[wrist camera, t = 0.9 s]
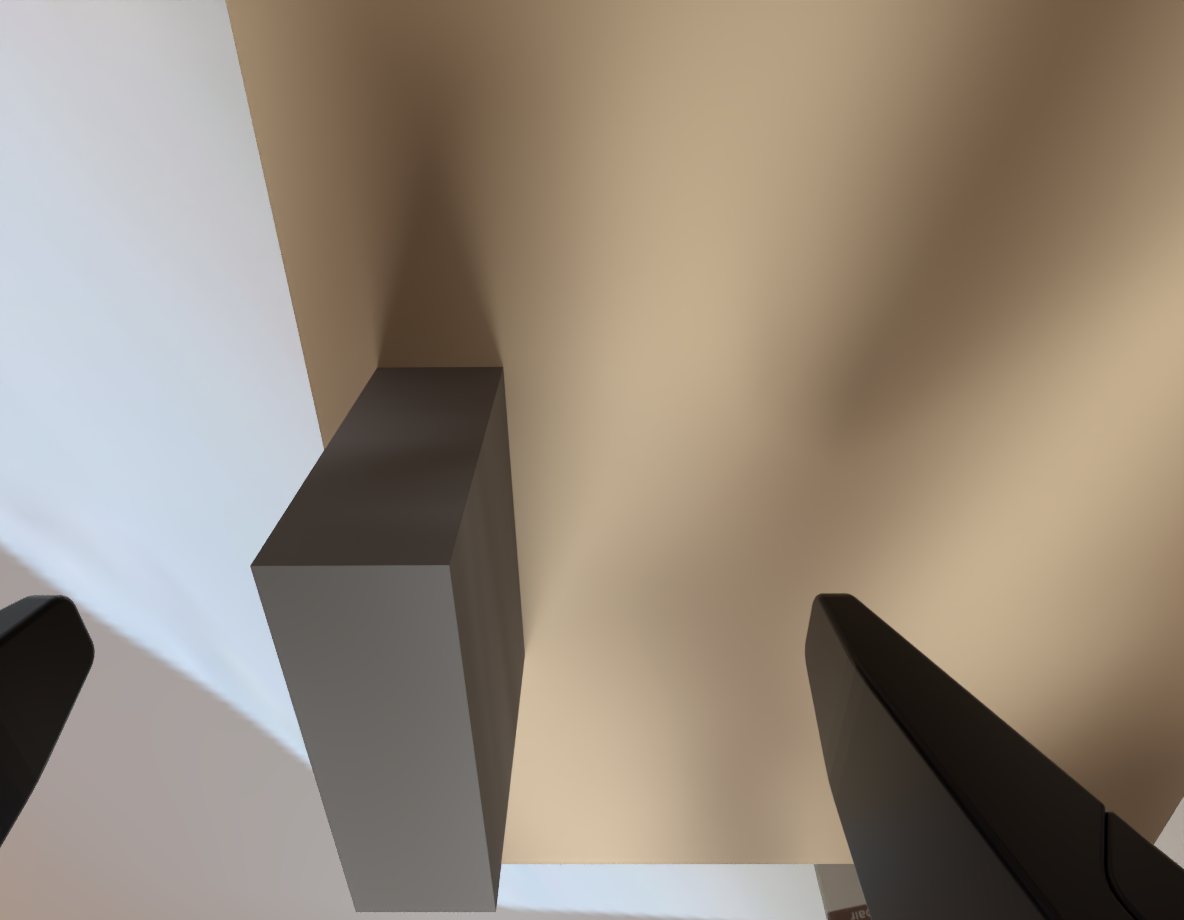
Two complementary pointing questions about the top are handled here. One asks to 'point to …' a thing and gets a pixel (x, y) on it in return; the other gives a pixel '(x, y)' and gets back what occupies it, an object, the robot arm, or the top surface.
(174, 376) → the top surface
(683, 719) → the lid
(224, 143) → the top surface
